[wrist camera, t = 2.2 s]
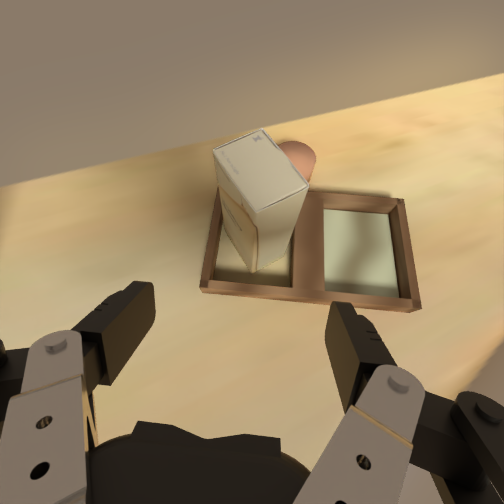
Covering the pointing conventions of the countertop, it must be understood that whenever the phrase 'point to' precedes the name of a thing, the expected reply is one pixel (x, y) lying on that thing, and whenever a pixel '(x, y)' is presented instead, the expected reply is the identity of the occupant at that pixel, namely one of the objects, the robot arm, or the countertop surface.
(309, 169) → the pinkish brown rounded piece
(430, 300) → the countertop surface
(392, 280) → the walnut organizer
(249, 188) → the skincare box
